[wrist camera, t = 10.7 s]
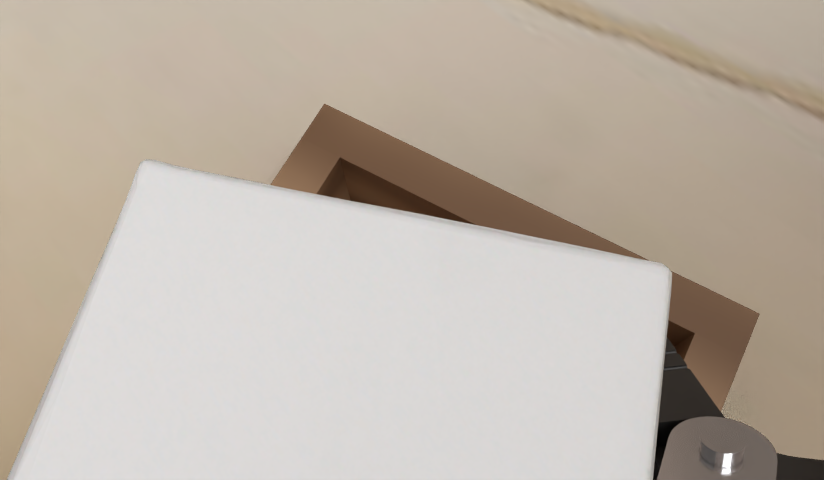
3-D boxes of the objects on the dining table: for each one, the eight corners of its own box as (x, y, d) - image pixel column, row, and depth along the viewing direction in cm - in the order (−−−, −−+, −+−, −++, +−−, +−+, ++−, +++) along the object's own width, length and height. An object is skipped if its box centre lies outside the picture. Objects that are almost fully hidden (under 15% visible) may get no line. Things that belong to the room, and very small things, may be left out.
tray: (340, 166, 24) (324, 103, 20) (701, 346, 21) (759, 314, 18) (67, 595, 20) (-18, 618, 16) (480, 872, 17) (496, 975, 14)
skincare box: (530, 410, 19) (700, 260, 7) (498, 590, 17) (648, 749, 6) (301, 356, 19) (132, 140, 8) (252, 526, 18) (-40, 560, 6)
